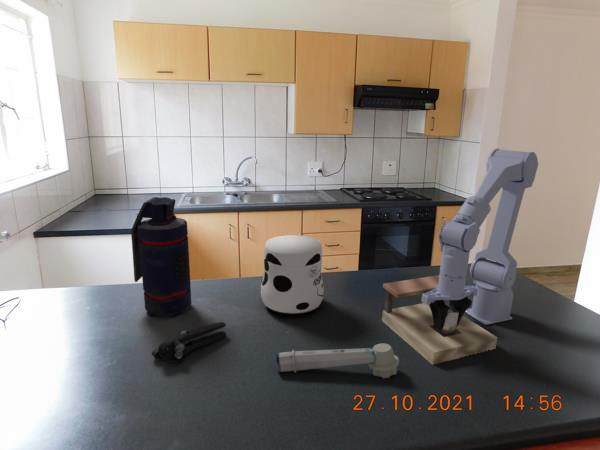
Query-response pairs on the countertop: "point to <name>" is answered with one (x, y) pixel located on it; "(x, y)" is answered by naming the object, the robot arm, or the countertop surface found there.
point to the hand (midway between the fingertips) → (445, 326)
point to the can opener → (177, 351)
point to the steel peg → (450, 322)
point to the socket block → (431, 325)
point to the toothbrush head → (341, 359)
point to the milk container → (292, 274)
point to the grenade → (162, 258)
